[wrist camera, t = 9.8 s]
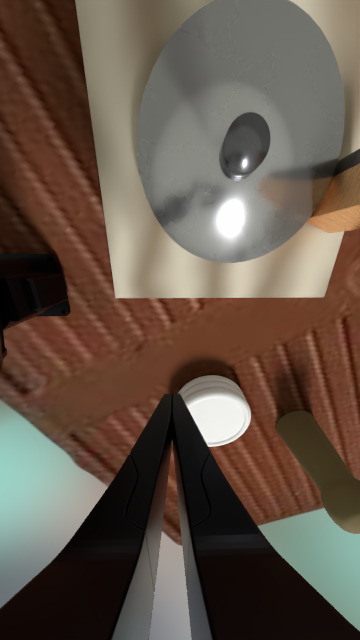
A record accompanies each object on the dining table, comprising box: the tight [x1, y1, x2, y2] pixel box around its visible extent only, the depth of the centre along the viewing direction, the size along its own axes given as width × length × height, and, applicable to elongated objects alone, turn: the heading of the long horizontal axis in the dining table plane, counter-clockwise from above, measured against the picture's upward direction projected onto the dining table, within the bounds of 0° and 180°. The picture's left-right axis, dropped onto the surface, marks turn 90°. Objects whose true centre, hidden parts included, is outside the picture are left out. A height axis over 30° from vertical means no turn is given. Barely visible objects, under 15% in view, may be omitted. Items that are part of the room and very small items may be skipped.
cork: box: [276, 411, 360, 534], centre depth 22 cm, size 6×6×11 cm
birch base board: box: [75, 0, 360, 298], centre depth 12 cm, size 22×22×6 cm
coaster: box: [178, 375, 251, 446], centre depth 24 cm, size 10×10×4 cm
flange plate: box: [137, 0, 360, 263], centre depth 11 cm, size 18×15×6 cm
